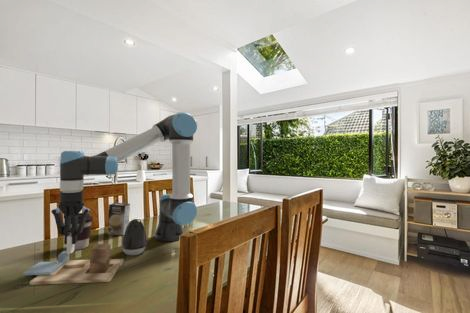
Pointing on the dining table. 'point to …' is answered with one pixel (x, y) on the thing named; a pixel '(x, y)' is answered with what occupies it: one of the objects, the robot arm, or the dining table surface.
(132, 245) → the dark grey rounded dome
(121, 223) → the coffee box
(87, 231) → the coffee cup
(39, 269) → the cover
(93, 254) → the block
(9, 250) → the dining table surface
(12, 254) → the dining table surface
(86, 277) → the board
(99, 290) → the dining table surface
